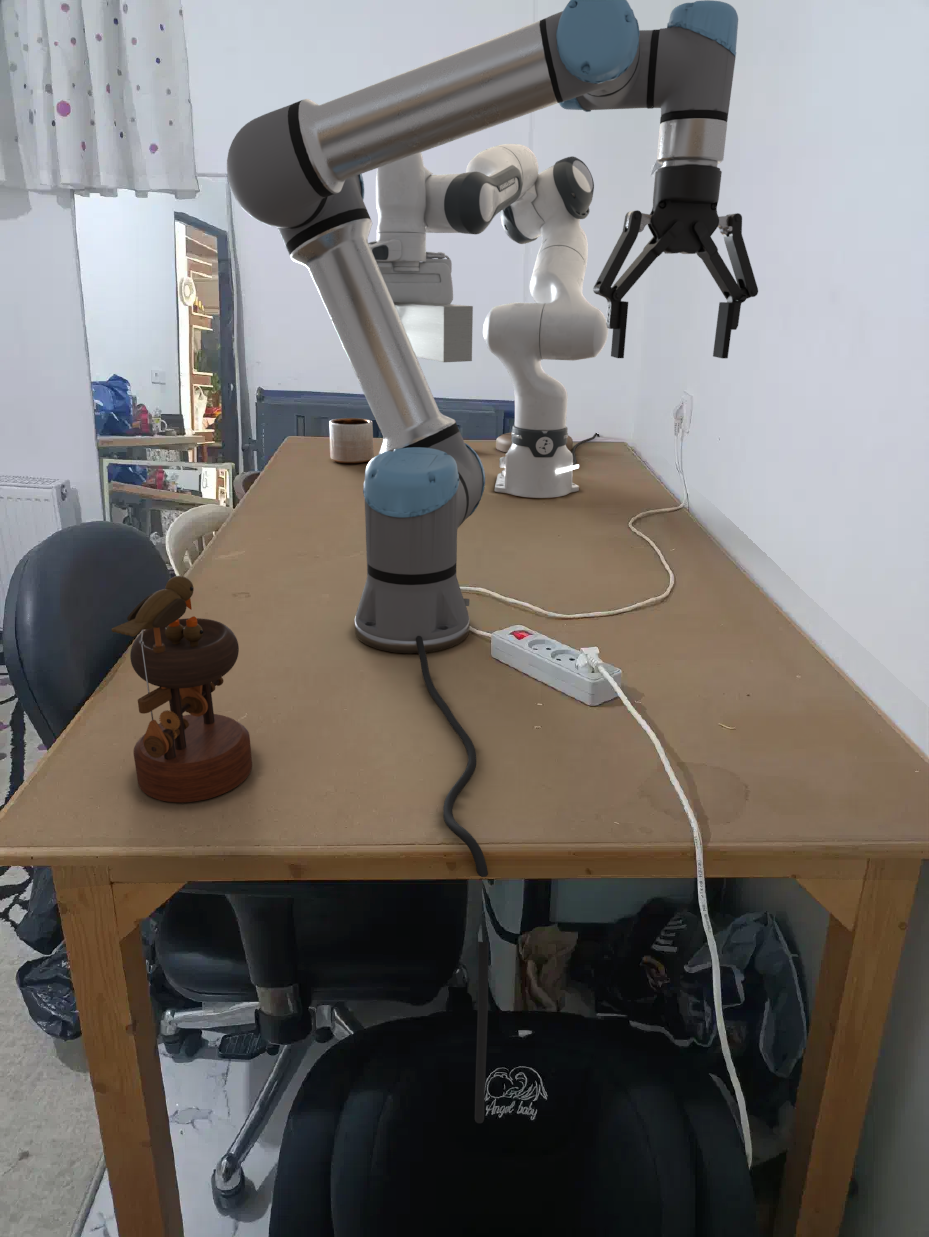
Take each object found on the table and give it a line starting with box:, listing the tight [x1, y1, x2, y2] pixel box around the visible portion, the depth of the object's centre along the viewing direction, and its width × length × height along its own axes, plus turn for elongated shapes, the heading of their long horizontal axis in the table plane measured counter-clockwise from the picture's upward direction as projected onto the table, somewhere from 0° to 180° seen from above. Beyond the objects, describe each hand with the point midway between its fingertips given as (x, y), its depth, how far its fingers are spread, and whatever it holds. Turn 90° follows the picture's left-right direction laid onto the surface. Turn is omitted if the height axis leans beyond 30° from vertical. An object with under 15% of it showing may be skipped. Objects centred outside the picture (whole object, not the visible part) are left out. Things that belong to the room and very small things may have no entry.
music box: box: [111, 575, 253, 803], centre depth 78 cm, size 15×11×20 cm
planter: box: [328, 417, 375, 464], centre depth 212 cm, size 11×11×10 cm
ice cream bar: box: [495, 431, 574, 453], centre depth 224 cm, size 21×28×4 cm
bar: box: [393, 302, 474, 363], centre depth 150 cm, size 23×6×9 cm, turn 32°
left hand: (669, 357), depth 106 cm, fingers open, 13 cm apart
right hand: (402, 332), depth 157 cm, fingers closed on bar, 5 cm apart
